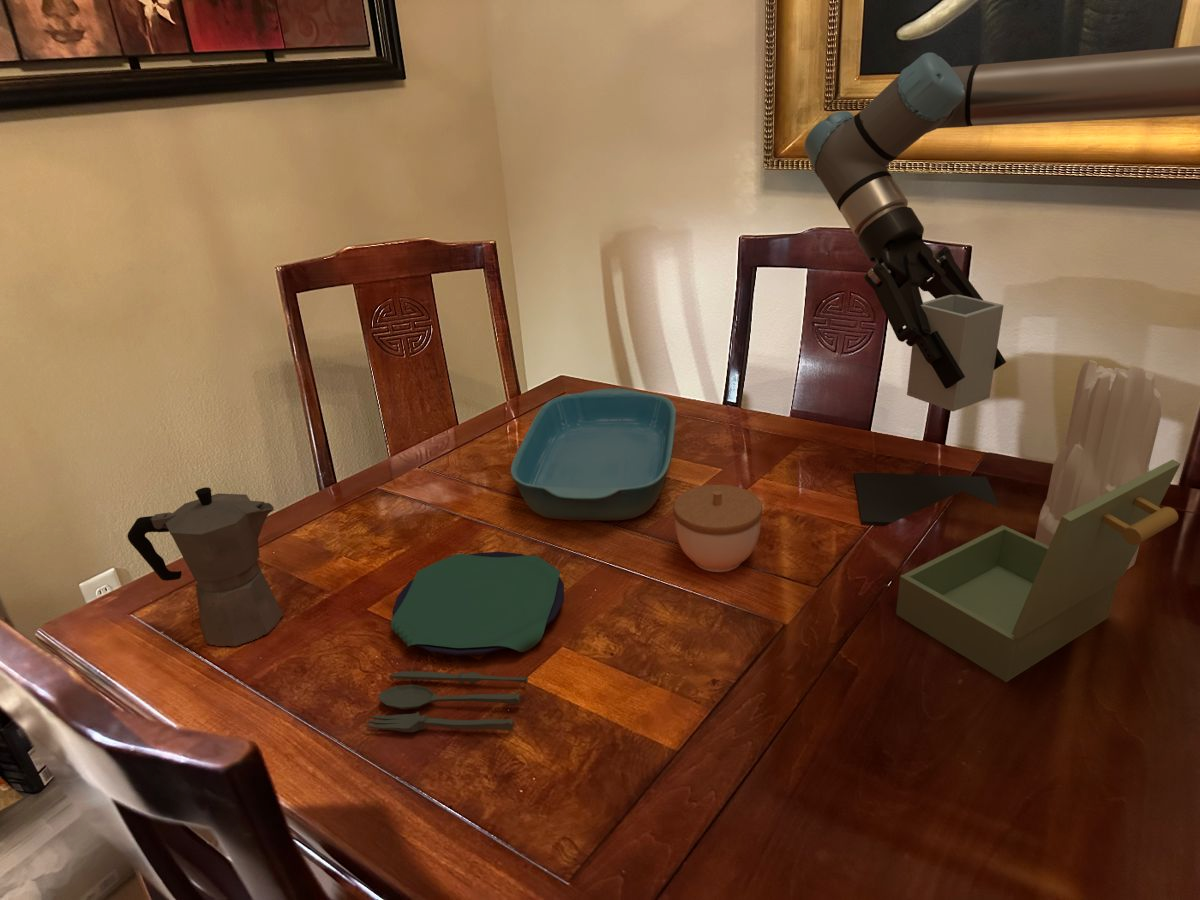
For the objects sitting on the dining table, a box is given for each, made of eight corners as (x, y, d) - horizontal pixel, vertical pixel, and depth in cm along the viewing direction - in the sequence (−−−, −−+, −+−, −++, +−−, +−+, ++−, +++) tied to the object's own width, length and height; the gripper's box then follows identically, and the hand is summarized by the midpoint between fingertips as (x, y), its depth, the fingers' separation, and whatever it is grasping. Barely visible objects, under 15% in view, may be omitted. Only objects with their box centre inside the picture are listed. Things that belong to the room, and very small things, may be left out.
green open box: (895, 619, 92) (899, 575, 90) (995, 565, 100) (1002, 524, 98) (1005, 687, 82) (1013, 640, 79) (1108, 621, 90) (1118, 577, 87)
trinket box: (778, 554, 105) (780, 488, 101) (727, 594, 98) (727, 524, 94) (708, 527, 112) (708, 464, 108) (657, 562, 105) (654, 496, 101)
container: (906, 395, 108) (916, 304, 103) (942, 382, 111) (954, 293, 106) (953, 411, 102) (965, 316, 97) (989, 397, 106) (1003, 304, 100)
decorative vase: (1039, 522, 108) (1074, 336, 97) (1136, 541, 103) (1184, 346, 92) (1028, 564, 100) (1066, 366, 89) (1133, 587, 95) (1186, 380, 84)
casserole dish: (667, 541, 109) (665, 493, 106) (500, 538, 113) (494, 491, 110) (680, 425, 142) (680, 386, 139) (551, 426, 146) (547, 387, 142)
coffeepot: (305, 591, 104) (271, 461, 96) (296, 638, 96) (259, 499, 88) (173, 613, 102) (128, 481, 94) (152, 662, 93) (101, 522, 86)
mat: (985, 480, 119) (986, 476, 119) (1008, 531, 107) (1009, 527, 106) (853, 475, 123) (853, 472, 122) (861, 524, 110) (861, 520, 110)
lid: (1061, 516, 72) (1111, 545, 68) (1172, 459, 79) (1221, 483, 76) (1011, 633, 79) (1053, 664, 76) (1116, 571, 87) (1158, 597, 84)
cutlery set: (577, 564, 106) (576, 549, 105) (532, 742, 79) (530, 723, 78) (425, 562, 108) (422, 547, 107) (331, 734, 82) (326, 716, 81)
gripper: (916, 228, 116) (1004, 371, 110) (809, 253, 107) (900, 409, 101) (954, 193, 109) (1050, 342, 104) (844, 215, 100) (942, 380, 95)
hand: (976, 375), depth 102 cm, fingers closed on container, 7 cm apart
